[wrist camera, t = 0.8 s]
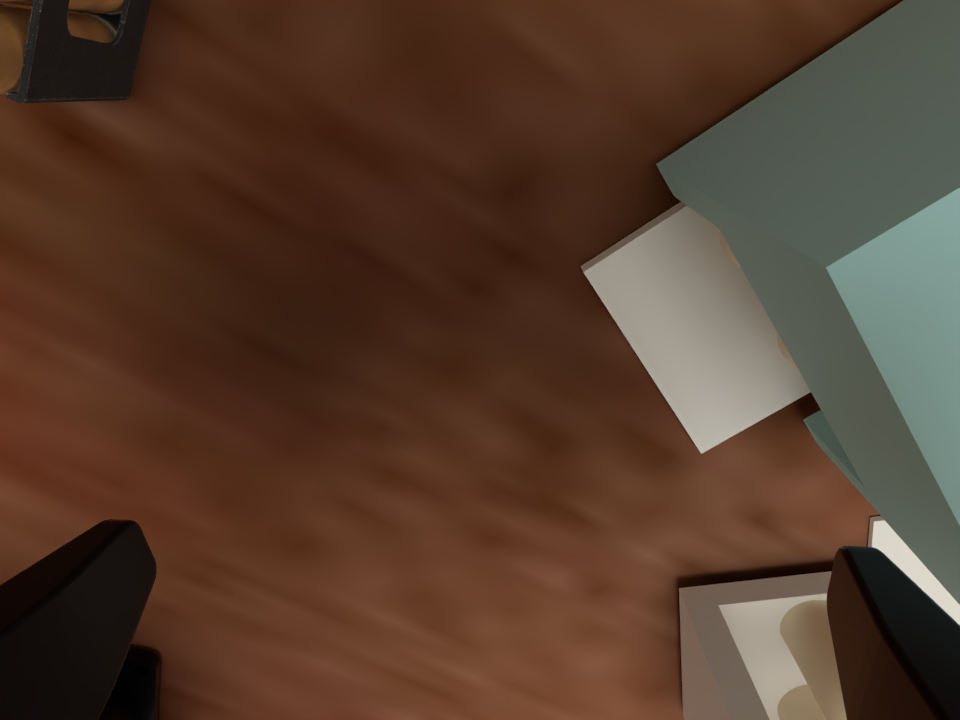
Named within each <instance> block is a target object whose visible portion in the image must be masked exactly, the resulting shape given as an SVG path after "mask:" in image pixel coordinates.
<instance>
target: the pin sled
mask: <svg viewBox="0 0 960 720" xmlns="http://www.w3.org/2000/svg"><path fill="white" fill-rule="evenodd" d="M831 573H832V571H829V572H820V573H811V574H802V575H793V576H784V577H775V578H766V579H757V580H748V581H739V582H730V583H721V584H712V585H703V586H694V587H685V588H679V603H680V634H681V666H682V697H683V720H847V718H846V712H845V707H844V701H843V696H842V690H841V685H840V680H839V674H838V669H837V663H836V658H835V652H834V647H833V641H832V636H831V631H830V625H829V620H828V614H827V591H828V587H829V582H830V577H831Z"/></svg>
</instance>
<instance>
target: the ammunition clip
mask: <svg viewBox="0 0 960 720" xmlns="http://www.w3.org/2000/svg"><path fill="white" fill-rule="evenodd" d="M150 1H151V0H0V2H4V3H13V4H21V5H30V6H32V8H29V7H18V6H7V5H1V4H0V94H7V98H9V99H11V100H13V101H16V102H19V103H40V102H74V101H112V100H125V99H127V98H129V95H130V90H131V86H132V81H133V77H134V72H135V68H136V63H137V59H138V54H139V50H140V45H141V41H142V36H143V32H144V27H145V23H146V18H147V14H148V9H149V5H150Z"/></svg>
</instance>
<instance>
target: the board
mask: <svg viewBox="0 0 960 720" xmlns="http://www.w3.org/2000/svg"><path fill="white" fill-rule="evenodd" d="M580 267H581V269H582V271H583V273H584V274H585V276H586V277H587V279H588V280H589V282H590V283H591V285H592V286H593V288H594V289H595V291H596V293H597V294H598V296H599V297H600V299H601V300H602V302H603V303H604V305H605V306H606V308H607V309H608V311H609V313H610V314H611V316H612V317H613V319H614V320H615V322H616V323H617V325H618V326H619V328H620V330H621V331H622V333H623V334H624V336H625V337H626V339H627V340H628V342H629V343H630V345H631V346H632V348H633V350H634V351H635V353H636V354H637V356H638V357H639V359H640V360H641V362H642V363H643V365H644V366H645V368H646V370H647V371H648V373H649V374H650V376H651V377H652V379H653V380H654V382H655V383H656V385H657V386H658V388H659V390H660V391H661V393H662V394H663V396H664V397H665V399H666V400H667V402H668V403H669V405H670V406H671V408H672V410H673V411H674V413H675V414H676V416H677V417H678V419H679V420H680V422H681V423H682V425H683V427H684V428H685V430H686V431H687V433H688V434H689V436H690V437H691V439H692V440H693V442H694V443H695V445H696V447H697V448H698V450H699V451H700V453H701V454H702V453H704V452H705V451H707V450H709V449H711V448H713V447H714V446H716V445H718V444H720V443H721V442H723V441H725V440H727V439H728V438H730V437H732V436H734V435H736V434H737V433H739V432H741V431H743V430H744V429H746V428H748V427H750V426H752V425H753V424H755V423H757V422H759V421H760V420H762V419H764V418H766V417H768V416H769V415H771V414H773V413H775V412H776V411H778V410H780V409H782V408H783V407H785V406H787V405H789V404H791V403H792V402H794V401H796V400H798V399H799V398H801V397H803V396H805V395H807V394H808V393H810V392H811V391H810V389H809V387H808V386H807V384H806V382H805V380H804V379H803V377H802V375H801V373H800V371H799V370H798V368H797V366H796V364H795V363H794V361H793V359H792V357H791V355H790V354H789V352H788V350H787V348H786V347H785V345H784V343H783V341H782V339H781V338H780V336H779V334H778V332H777V331H776V329H775V327H774V325H773V324H772V322H771V320H770V318H769V316H768V315H767V313H766V311H765V309H764V308H763V306H762V304H761V302H760V300H759V299H758V297H757V295H756V293H755V292H754V290H753V288H752V286H751V284H750V283H749V281H748V279H747V277H746V276H745V274H744V272H743V270H742V268H741V267H740V265H739V263H738V261H737V260H736V258H735V256H734V254H733V252H732V251H731V249H730V247H729V245H728V244H727V242H726V240H725V238H724V236H723V235H722V233H721V231H720V229H719V228H718V227H717V226H715V225H714V224H712V223H711V222H710V221H708V220H707V219H705V218H704V217H702V216H701V215H700V214H698V213H697V212H695V211H694V210H693V209H691V208H690V207H688V206H687V205H686V204H684V203H683V202H679V203H678V204H676V205H675V206H673V207H672V208H670V209H669V210H667V211H665V212H664V213H662V214H661V215H659V216H658V217H656V218H655V219H653V220H652V221H650V222H648V223H647V224H645V225H644V226H642V227H641V228H639V229H638V230H636V231H634V232H633V233H631V234H630V235H628V236H627V237H625V238H624V239H622V240H621V241H619V242H617V243H616V244H614V245H613V246H611V247H610V248H608V249H607V250H605V251H603V252H602V253H600V254H599V255H597V256H596V257H594V258H593V259H591V260H590V261H588V262H586V263H585V264H583V265H582V266H580Z"/></svg>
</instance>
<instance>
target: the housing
mask: <svg viewBox="0 0 960 720" xmlns="http://www.w3.org/2000/svg"><path fill="white" fill-rule="evenodd" d="M656 166H657V168H658V169H659V171H660V173H661V175H662V176H663V178H664V180H665V181H666V183H667V185H668V187H669V188H670V190H671V192H672V194H673V195H674V197H676V198H677V199H678V200H680V201H681V202H683V203H684V204H686V205H687V206H688V207H690V208H691V209H693V210H694V211H695V212H697V213H698V214H700V215H701V216H702V217H704V218H705V219H707V220H708V221H710V222H711V223H712V224H714V225H715V226H717V227H718V228H719V229H720V231H721V233H722V235H723V236H724V238H725V240H726V242H727V244H728V245H729V247H730V249H731V251H732V252H733V254H734V256H735V258H736V260H737V261H738V263H739V265H740V267H741V268H742V270H743V272H744V274H745V276H746V277H747V279H748V281H749V283H750V284H751V286H752V288H753V290H754V292H755V293H756V295H757V297H758V299H759V300H760V302H761V304H762V306H763V308H764V309H765V311H766V313H767V315H768V316H769V318H770V320H771V322H772V324H773V325H774V327H775V329H776V331H777V332H778V334H779V336H780V338H781V339H782V341H783V343H784V345H785V347H786V348H787V350H788V352H789V354H790V355H791V357H792V359H793V361H794V363H795V364H796V366H797V368H798V370H799V371H800V373H801V375H802V377H803V379H804V380H805V382H806V384H807V386H808V387H809V389H810V391H811V393H812V395H813V396H814V398H815V400H816V402H817V403H818V405H819V407H820V409H821V410H819V411H818V412H816V413H814V414H812V415H810V416H809V417H807V418H805V419H803V421H804V422H805V424H806V426H807V428H808V429H809V431H810V433H811V435H812V436H813V438H814V440H815V441H816V443H817V445H818V446H819V447H820V448H821V449H822V450H823V451H824V453H825V454H826V455H827V456H828V457H829V458H830V459H831V460H832V462H833V463H834V464H835V465H836V466H837V467H838V468H839V469H840V471H841V472H842V473H843V474H844V475H845V476H846V477H847V478H848V480H849V481H850V482H851V483H852V484H853V485H854V486H855V487H856V489H857V490H858V491H859V492H860V493H861V494H862V495H863V496H864V498H865V499H866V500H867V501H868V502H869V503H870V504H871V505H872V507H873V508H874V509H875V510H876V511H877V512H878V513H879V515H880V516H881V517H882V518H883V519H884V520H885V521H886V522H887V524H888V525H889V526H890V527H891V528H892V529H893V530H894V531H895V533H896V534H897V535H898V536H899V537H900V538H901V539H902V540H903V542H904V543H905V544H906V545H907V546H908V547H909V548H910V549H911V551H912V552H913V553H914V554H915V555H916V556H917V557H918V558H919V560H920V561H921V562H922V563H923V564H924V565H925V566H926V568H927V569H928V570H929V571H930V572H931V573H932V574H933V575H934V577H935V578H936V579H937V580H938V581H939V582H940V583H941V584H942V586H943V587H944V588H945V589H946V590H947V591H948V592H949V593H950V595H951V596H952V597H953V598H954V599H955V600H956V601H957V602H958V604H959V605H960V0H903V1H902V2H900V3H899V4H897V5H896V6H894V7H893V8H891V9H890V10H888V11H887V12H885V13H884V14H882V15H881V16H879V17H878V18H876V19H875V20H873V21H872V22H870V23H869V24H867V25H866V26H864V27H862V28H861V29H859V30H858V31H856V32H855V33H853V34H852V35H850V36H849V37H847V38H846V39H844V40H843V41H841V42H840V43H838V44H837V45H835V46H834V47H832V48H831V49H829V50H828V51H826V52H825V53H823V54H822V55H820V56H819V57H817V58H816V59H814V60H813V61H811V62H810V63H808V64H807V65H805V66H804V67H802V68H801V69H799V70H798V71H796V72H794V73H793V74H791V75H790V76H788V77H787V78H785V79H784V80H782V81H781V82H779V83H778V84H776V85H775V86H773V87H772V88H770V89H769V90H767V91H766V92H764V93H763V94H761V95H760V96H758V97H757V98H755V99H754V100H752V101H751V102H749V103H748V104H746V105H745V106H743V107H742V108H740V109H739V110H737V111H736V112H734V113H733V114H731V115H730V116H728V117H726V118H725V119H723V120H722V121H720V122H719V123H717V124H716V125H714V126H713V127H711V128H710V129H708V130H707V131H705V132H704V133H702V134H701V135H699V136H698V137H696V138H695V139H693V140H692V141H690V142H689V143H687V144H686V145H684V146H683V147H681V148H680V149H678V150H677V151H675V152H674V153H672V154H671V155H669V156H668V157H666V158H665V159H663V160H662V161H660V162H658V163H657V164H656Z"/></svg>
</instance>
